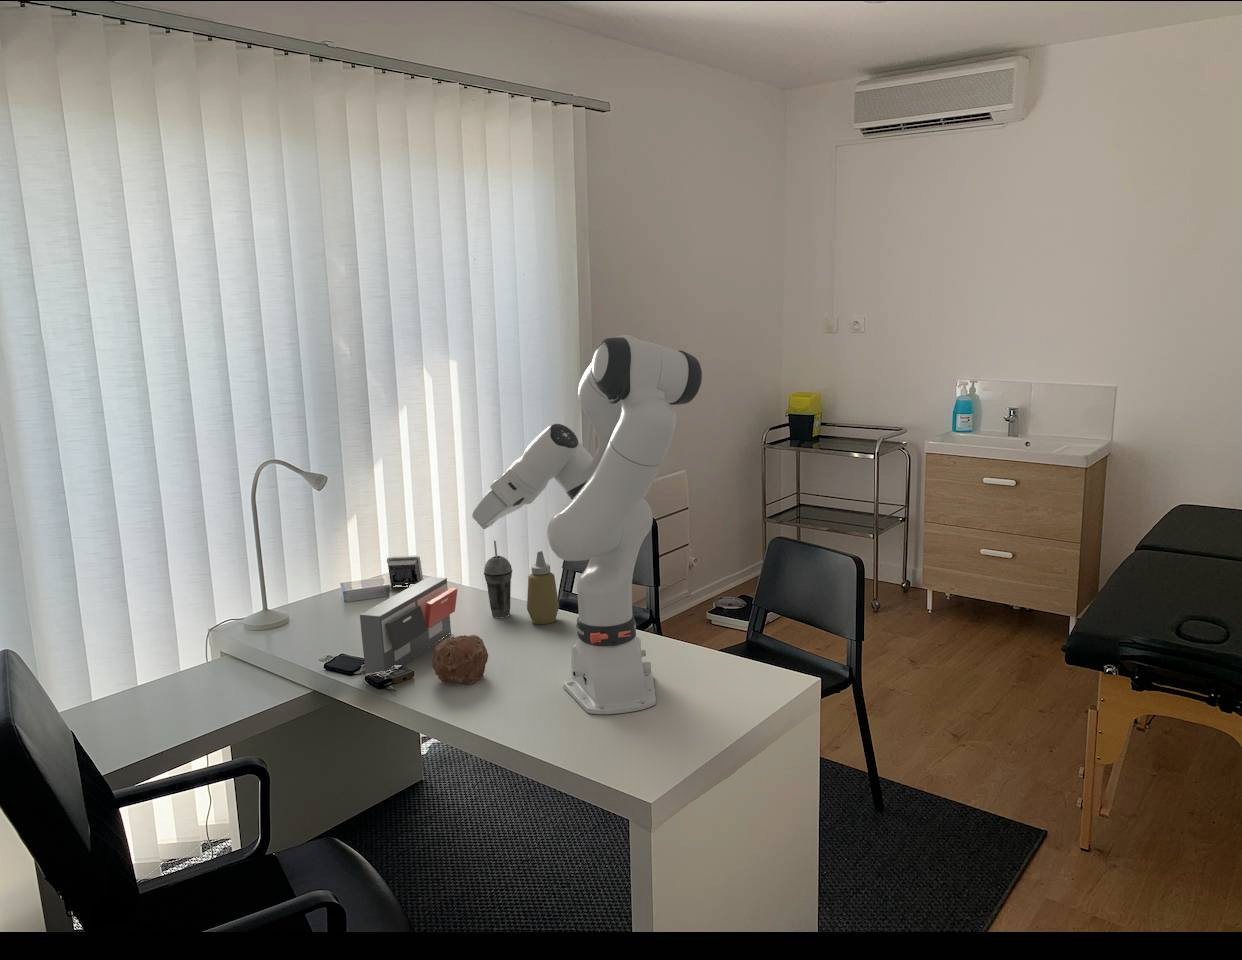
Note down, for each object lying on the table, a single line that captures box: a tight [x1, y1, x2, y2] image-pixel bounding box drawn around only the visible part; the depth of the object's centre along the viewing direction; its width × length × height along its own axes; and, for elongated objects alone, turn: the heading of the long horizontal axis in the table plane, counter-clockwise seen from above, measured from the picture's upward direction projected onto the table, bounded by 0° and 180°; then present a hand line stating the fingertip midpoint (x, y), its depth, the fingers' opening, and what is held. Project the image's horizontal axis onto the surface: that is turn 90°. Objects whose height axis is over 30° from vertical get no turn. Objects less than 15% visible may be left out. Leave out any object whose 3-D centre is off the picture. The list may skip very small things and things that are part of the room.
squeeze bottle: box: [526, 550, 560, 625], centre depth 230 cm, size 8×8×18 cm
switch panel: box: [359, 576, 452, 674], centre depth 212 cm, size 5×28×14 cm, turn 160°
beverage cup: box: [483, 540, 513, 619], centre depth 236 cm, size 7×7×20 cm
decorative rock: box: [430, 634, 489, 685], centre depth 197 cm, size 13×11×10 cm
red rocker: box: [425, 586, 458, 628], centre depth 217 cm, size 1×12×6 cm, turn 160°
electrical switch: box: [386, 554, 424, 588], centre depth 264 cm, size 9×5×9 cm, turn 92°
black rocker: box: [386, 606, 427, 650], centre depth 204 cm, size 1×12×6 cm, turn 160°
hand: (484, 525), depth 209 cm, fingers closed
